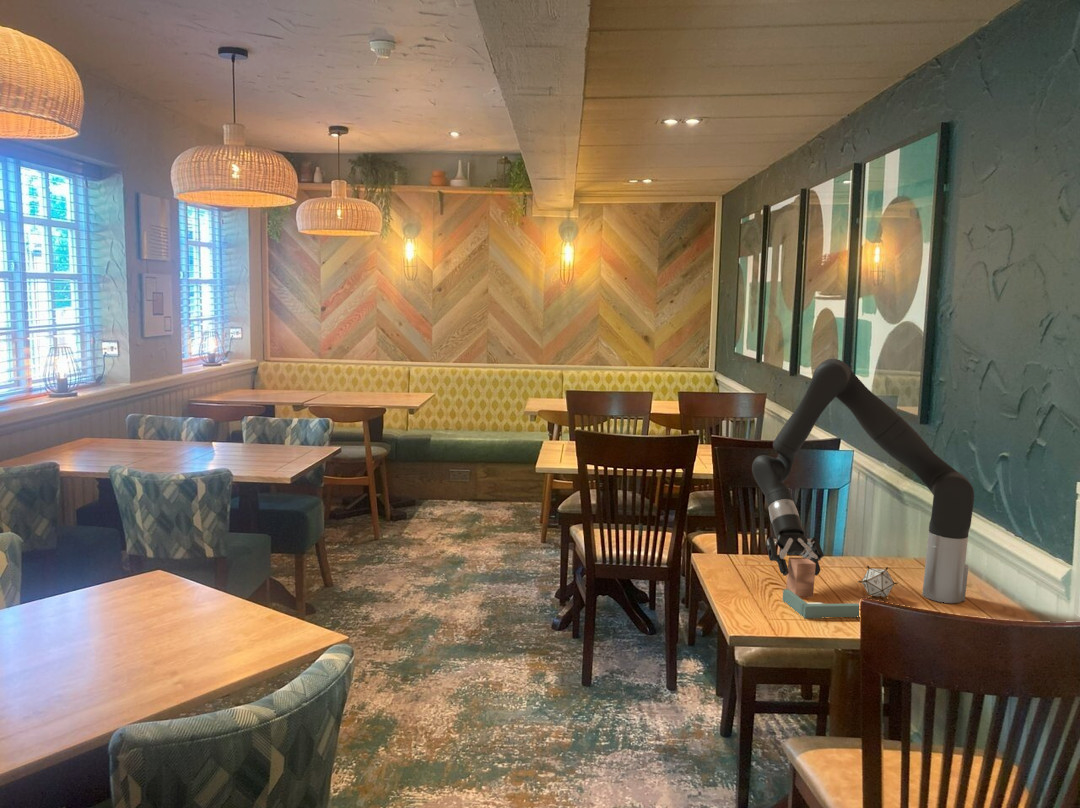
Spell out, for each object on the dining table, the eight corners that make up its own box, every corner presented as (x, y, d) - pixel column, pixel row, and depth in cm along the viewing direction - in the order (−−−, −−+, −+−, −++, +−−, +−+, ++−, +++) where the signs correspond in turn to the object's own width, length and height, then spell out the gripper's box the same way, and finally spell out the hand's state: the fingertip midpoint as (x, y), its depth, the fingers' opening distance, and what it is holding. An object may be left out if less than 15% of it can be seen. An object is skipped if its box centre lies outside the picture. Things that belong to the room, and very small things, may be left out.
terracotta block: (803, 590, 210) (806, 557, 209) (812, 597, 205) (815, 563, 204) (786, 590, 209) (788, 557, 208) (794, 597, 204) (797, 563, 203)
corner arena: (840, 600, 204) (841, 588, 203) (866, 617, 192) (867, 605, 192) (782, 600, 201) (783, 589, 201) (804, 618, 190) (805, 606, 189)
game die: (880, 613, 206) (890, 592, 199) (849, 594, 210) (858, 573, 203) (896, 591, 210) (906, 569, 203) (866, 573, 215) (875, 551, 208)
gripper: (765, 512, 212) (781, 567, 202) (815, 513, 214) (833, 567, 204) (755, 526, 218) (770, 580, 208) (804, 526, 220) (821, 580, 210)
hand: (801, 574), depth 206 cm, fingers open, 8 cm apart
